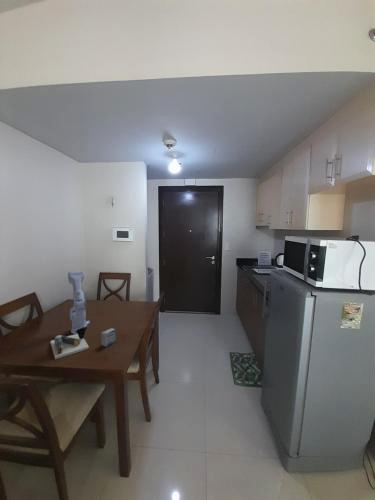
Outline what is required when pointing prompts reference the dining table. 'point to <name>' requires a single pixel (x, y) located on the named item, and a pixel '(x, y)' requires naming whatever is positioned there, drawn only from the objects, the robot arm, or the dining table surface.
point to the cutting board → (69, 347)
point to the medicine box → (108, 337)
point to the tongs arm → (68, 340)
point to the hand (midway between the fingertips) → (81, 338)
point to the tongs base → (58, 345)
